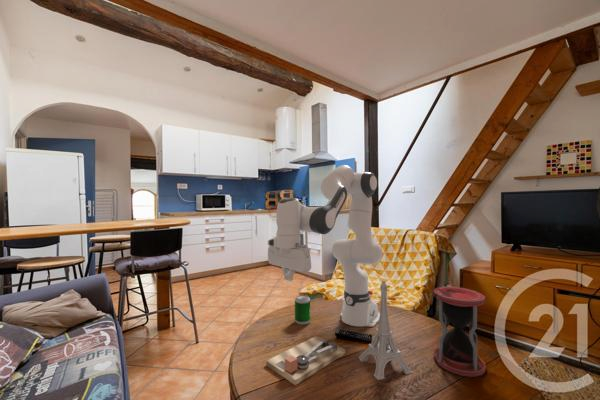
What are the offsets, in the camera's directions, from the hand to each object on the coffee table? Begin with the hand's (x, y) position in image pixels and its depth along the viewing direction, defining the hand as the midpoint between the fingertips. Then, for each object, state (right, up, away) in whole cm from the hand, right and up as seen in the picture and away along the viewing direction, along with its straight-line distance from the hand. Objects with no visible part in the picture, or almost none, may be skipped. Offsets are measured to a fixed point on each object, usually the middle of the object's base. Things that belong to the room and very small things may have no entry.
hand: (288, 280), depth 102 cm
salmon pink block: (+1, -27, -9) cm, 29 cm away
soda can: (+5, -30, +32) cm, 44 cm away
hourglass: (+61, -29, -2) cm, 68 cm away
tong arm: (+9, -27, -1) cm, 29 cm away
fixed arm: (+10, -28, -2) cm, 29 cm away
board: (+7, -29, 0) cm, 30 cm away
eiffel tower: (+34, -29, -3) cm, 45 cm away
